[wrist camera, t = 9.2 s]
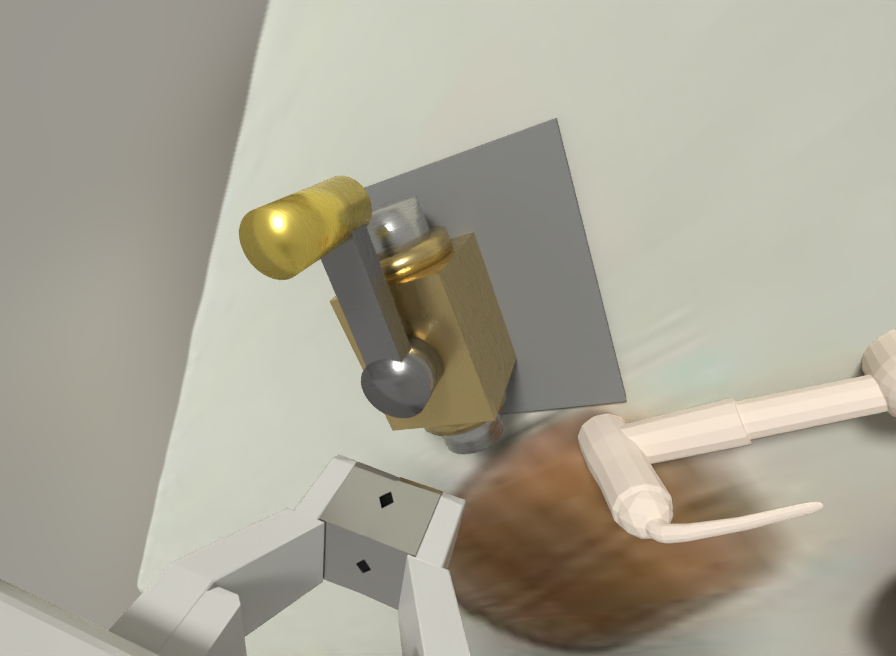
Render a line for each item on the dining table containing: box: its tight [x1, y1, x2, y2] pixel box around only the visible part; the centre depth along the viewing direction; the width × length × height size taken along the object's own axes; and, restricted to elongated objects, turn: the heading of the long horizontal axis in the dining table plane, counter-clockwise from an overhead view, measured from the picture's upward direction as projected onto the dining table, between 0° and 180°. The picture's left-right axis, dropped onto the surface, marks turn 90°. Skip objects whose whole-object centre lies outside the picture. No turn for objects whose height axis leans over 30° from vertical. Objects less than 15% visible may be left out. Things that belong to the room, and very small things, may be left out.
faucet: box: [578, 329, 896, 543], centre depth 23 cm, size 4×18×10 cm, turn 122°
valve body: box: [330, 195, 517, 454], centre depth 26 cm, size 14×6×6 cm, turn 21°
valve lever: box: [239, 176, 443, 418], centre depth 19 cm, size 11×3×6 cm, turn 17°
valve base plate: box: [364, 118, 626, 414], centre depth 27 cm, size 16×12×1 cm
